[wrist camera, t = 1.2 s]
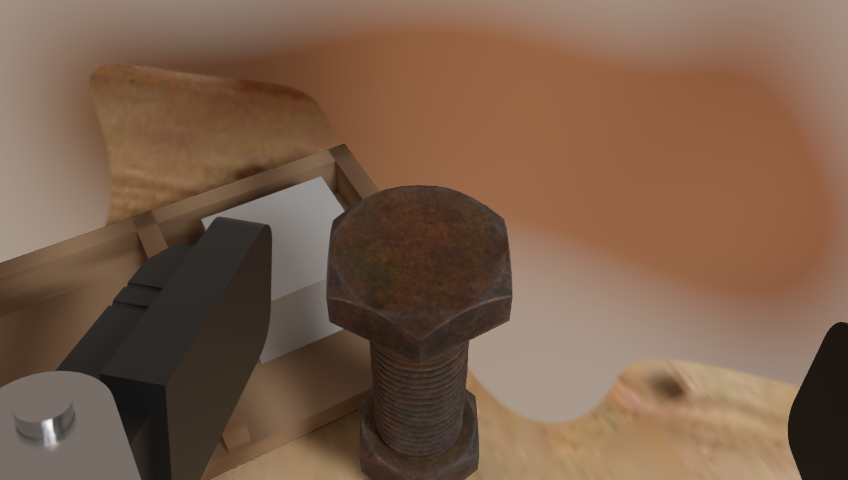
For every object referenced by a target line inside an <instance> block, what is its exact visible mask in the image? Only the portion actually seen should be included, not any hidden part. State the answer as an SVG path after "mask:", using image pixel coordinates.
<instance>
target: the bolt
mask: <svg viewBox="0 0 848 480" xmlns="http://www.w3.org/2000/svg"><path fill="white" fill-rule="evenodd" d="M326 301H327V308H328V316H329V322H331V323H333V324H335V325H337V326H339V327H341V328H343V329H345V330H347V331H349V332H351V333H354V334H356V335H358V336H360V337H362V338H364V339H366V340H368V341H369V345H370V356H371V371H372V382H373V389H372V390H371V391H370V392H368V393H367V394H366V395H364V396H363V398H362V408H361V427H360V462H361V471H363V472H364V473H365V474H367V475H368V476H369V477H371V478H372V479H373V480H465V479H466V478H467V477H468V476H470V475H471V474H472V473H474V472H475V471H476V470H477V469H478V460H479V437H478V420H477V407H476V399H475V395H473V394H472V393H471V392H469V391H468V390H467V389H465V388H466V377H467V367H468V366H467V363H468V346H469V340H471V339H473V338H475V337H477V336H479V335H481V334H483V333H485V332H487V331H489V330H491V329H493V328H495V327H497V326H499V325H501V324H503V323H505V322H507V321H509V318H510V311H511V303H512V272H511V260H510V250H509V243H508V236H507V228H506V225H505V221H504V219H503V218H502V217H501V216H499V215H498V214H496V213H495V212H494V211H492V210H491V209H489V208H488V207H487V206H485V205H484V204H482V203H480V202H479V201H477V200H475V199H474V198H472V197H470V196H468V195H465V194H463V193H461V192H458V191H455V190H452V189H449V188H444V187H438V186H421V185H416V186H400V187H395V188H390V189H386V190H383V191H380V192H377V193H375V194H373V195H371V196H368V197H366V198H364V199H362V200H361V201H359V202H357V203H356V204H354V205H353V206H351V207H350V208H348V209H347V210H346V211H344V212H343V213H342V214H340V215H339V216H338V217H336V218H335V219H334V220H333V223H332V227H331V232H330V241H329V249H328V259H327V277H326Z"/></svg>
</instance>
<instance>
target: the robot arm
mask: <svg viewBox="0 0 848 480" xmlns="http://www.w3.org/2000/svg"><path fill="white" fill-rule="evenodd" d="M271 276H272V231H271V227H270V226H269V225H268V224H262V223H256V222H250V221H244V220H238V219H232V218H226V217H220V216H219V217H216V218H215V219H214V220H213V222H212V223H211V224H210V226H209V227H208V228H207V230H206V231H205V232H204V234H203V235H202V236H201V238H200V239H199V240H198V242H197V243H196V244H195V246H194V247H193V246H187V245H181V244H174V245H172V246H170V247H169V248H167V249H165V250H163V251H161V252H160V253H158V254H156V255H154V256H152V257H151V258H149V259H147V260H146V261H145V262H144V263H143V264H142V265H141V267H140V268H139V269H138V270H137V272H136V273H135V274H134V275H133V276H132V278H131V279H130V280H129V281H128V285H127V287H123V289H122V290H121V291H120V292H119V293H118V295H117V296H116V297H115V298H114V300H113V303H112V306H110V305H109V306H108V307H107V308H106V309H105V310H104V312H103V313H102V314H101V315H100V317H99V318H98V319H97V320H96V321H95V323H94V324H93V325H92V326H91V328H90V329H89V330H88V331H87V332H86V334H85V335H84V336H83V337H82V338H81V340H80V341H79V342H78V343H77V345H76V346H75V347H74V348H73V349H72V351H71V352H70V353H69V354H68V356H67V357H66V358H65V359H64V360H63V362H62V363H61V364H60V365H59V366H58V368H57V369H56V370H55V371H51V372H43V373H38V374H33V375H30V376H26V377H23V378H20V379H18V380H15V381H13V382H11V383H9V384H7V385H5V386H3V387H1V388H0V480H200V479H201V477H202V475H203V473H204V471H205V469H206V467H207V465H208V463H209V461H210V458H211V456H212V454H213V452H214V450H215V448H216V446H217V444H218V442H219V440H220V438H221V436H222V434H223V432H224V430H225V428H226V425H227V423H228V421H229V419H230V417H231V415H232V413H233V411H234V409H235V407H236V405H237V403H238V401H239V399H240V397H241V395H242V392H243V390H244V388H245V386H246V384H247V382H248V380H249V378H250V376H251V374H252V372H253V370H254V368H255V366H256V364H257V362H258V359H259V357H260V355H261V353H262V351H263V348H264V345H265V342H266V338H267V334H268V329H269V323H270V315H271ZM788 440H789V445H790V449H791V452H792V454H793V457H794V460H795V462H796V465H797V467H798V470H799V473H800V475H801V478H802V480H848V323H844V322H839V323H836V324H835V325H833V326H832V327H831V328H830V329H829V331H828V332H827V334H826V336H825V338H824V340H823V342H822V344H821V346H820V348H819V350H818V352H817V354H816V357H815V359H814V360H813V363H812V365H811V367H810V369H809V371H808V373H807V375H806V377H805V379H804V381H803V383H802V385H801V387H800V390H799V392H798V394H797V396H796V398H795V400H794V402H793V404H792V407H791V410H790V415H789V421H788Z"/></svg>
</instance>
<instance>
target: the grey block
mask: <svg viewBox="0 0 848 480" xmlns="http://www.w3.org/2000/svg"><path fill="white" fill-rule="evenodd" d="M343 212H344V209H343V208H342V206H341V205H340V203H339V202H338V201H337V199H336V198H335V196H334V195H333V193H332V192H331V190H330V189H329V187H328V186H327V184H326V183H325V181H324V180H323V178H322V177H318V178H315V179H312V180H309V181H307V182H304V183H301V184H298V185H295V186H293V187H290V188H287V189H284V190H281V191H279V192H276V193H273V194H270V195H268V196H265V197H262V198H259V199H256V200H254V201H251V202H248V203H245V204H242V205H240V206H237V207H234V208H231V209H228V210H226V211H223V212H220V213H217V214H214V215H212V216H209V217H206V218H203V219H201V220H202V224H203V227H204V230H205V231H206V230H207V228H208V227H209V226H210V224H211V223H212V222H213V220H214V219H215V218H216V217H219V216H220V217H226V218H232V219H238V220H244V221H250V222H256V223H262V224H268V225H269V226H270V227H271V231H272V276H271V315H270V323H269V329H268V334H267V338H266V342H265V345H264V348H263V351H262V353H261V355H260V357H259V360H260V362H261V364H264V363H266V362H268V361H271V360H273V359H275V358H278V357H280V356H282V355H285V354H287V353H289V352H292V351H294V350H296V349H299V348H301V347H303V346H305V345H308V344H310V343H312V342H315V341H317V340H319V339H322V338H324V337H326V336H329V335H331V334H333V333H336V332H338V331H340V330H342V329H343V328H341V327H339V326H337V325H335V324H333V323H331V322H329V316H328V308H327V301H326V277H327V259H328V249H329V241H330V232H331V227H332V223H333V220H334V219H335V218H336V217H338V216H339V215H340V214H342V213H343Z"/></svg>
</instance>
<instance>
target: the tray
mask: <svg viewBox="0 0 848 480" xmlns="http://www.w3.org/2000/svg"><path fill="white" fill-rule="evenodd" d="M318 177H322V178H323V180H324V181H325V183H326V184H327V186H328V187H329V189H330V190H331V192H332V193H333V195H334V196H335V198H336V199H337V201H338V202H339V203H340V205H341V206H342V208H343V209H344V211H346V210H347V209H348V208H350V207H351V206H353V205H354V204H356V203H357V202H359V201H361V200H362V199H364V198H366V197H368V196H371V195H373V194H375V193H377V192H380V191H379V190H378V188H377V187H376V186H375V185H374V183H373V182H372V180H371V179H370V178H369V176H368V175H367V174H366V172H365V171H364V169H363V168H362V167H361V166H360V164H359V163H358V161H357V160H356V159H355V157H354V156H353V155H352V153H351V152H350V150H349V149H348V148H347V146H346V145H345V144H342V145H339V146H336V147H333V148H331V149H328V150H325V151H322V152H319V153H316V154H313V155H310V156H308V157H305V158H302V159H299V160H296V161H293V162H290V163H287V164H284V165H282V166H279V167H276V168H273V169H270V170H267V171H264V172H261V173H259V174H256V175H253V176H250V177H247V178H244V179H241V180H238V181H235V182H233V183H230V184H227V185H224V186H221V187H218V188H215V189H212V190H210V191H207V192H204V193H201V194H198V195H195V196H192V197H189V198H186V199H184V200H181V201H178V202H175V203H172V204H169V205H166V206H163V207H160V208H158V209H155V210H152V211H149V212H146V213H143V214H140V215H137V216H135V217H132V218H129V219H126V220H123V221H120V222H117V223H114V224H111V225H109V226H106V227H103V228H100V229H97V230H94V231H91V232H88V233H86V234H83V235H80V236H77V237H74V238H71V239H68V240H65V241H62V242H60V243H57V244H54V245H51V246H48V247H45V248H43V249H39V250H37V251H34V252H31V253H28V254H25V255H22V256H19V257H16V258H13V259H11V260H8V261H5V262H2V263H0V388H1V387H3V386H5V385H7V384H9V383H11V382H13V381H15V380H18V379H20V378H23V377H26V376H30V375H33V374H38V373H43V372H51V371H55V370H56V369H57V368H58V366H59V365H60V364H61V363H62V362H63V360H64V359H65V358H66V357H67V356H68V354H69V353H70V352H71V351H72V349H73V348H74V347H75V346H76V345H77V343H78V342H79V341H80V340H81V338H82V337H83V336H84V335H85V334H86V332H87V331H88V330H89V329H90V328H91V326H92V325H93V324H94V323H95V321H96V320H97V319H98V318H99V317H100V315H101V314H102V313H103V312H104V310H105V309H106V308H107V307H108V306H109V305H110V306H112V303H113V300H114V298H115V297H116V296H117V295H118V293H119V292H120V291H121V290H122V289H123V287H127V285H128V281H129V280H130V279H131V278H132V276H133V275H134V274H135V273H136V272H137V270H138V269H139V268H140V267H141V265H142V264H143V263H144V262H145V261H146V260H147V259H149V258H151V257H152V256H154V255H156V254H158V253H160V252H161V251H163V250H165V249H167V248H169V247H170V246H172V245H174V244H181V245H187V246H193V247H194V246H195V244H196V243H197V242H198V240H199V239H200V238H201V236H202V235H203V234H204V232H205V230H204V227H203V224H202V220H201V219H203V218H206V217H209V216H212V215H214V214H217V213H220V212H223V211H226V210H228V209H231V208H234V207H237V206H240V205H242V204H245V203H248V202H251V201H254V200H256V199H259V198H262V197H265V196H268V195H270V194H273V193H276V192H279V191H281V190H284V189H287V188H290V187H293V186H295V185H298V184H301V183H304V182H307V181H309V180H312V179H315V178H318ZM372 389H373V382H372V371H371V356H370V345H369V341H368V340H366V339H364V338H362V337H360V336H358V335H356V334H354V333H351V332H349V331H347V330H345V329H342V330H340V331H338V332H336V333H333V334H331V335H329V336H326V337H324V338H322V339H319V340H317V341H315V342H312V343H310V344H308V345H305V346H303V347H301V348H299V349H296V350H294V351H292V352H289V353H287V354H285V355H282V356H280V357H278V358H275V359H273V360H271V361H268V362H266V363H264V364H261V362H260V360H259V359H258V362H257V364H256V366H255V368H254V370H253V372H252V374H251V376H250V378H249V380H248V382H247V384H246V386H245V388H244V390H243V392H242V395H241V397H240V399H239V401H238V403H237V405H236V407H235V409H234V411H233V413H232V415H231V417H230V419H229V421H228V423H227V425H226V428H225V430H224V432H223V434H222V436H221V438H220V440H219V442H218V444H217V446H216V448H215V450H214V452H213V454H212V456H211V458H210V461H209V463H208V465H207V467H206V469H205V471H204V473H203V475H202V477H201V479H200V480H209V479H211V478H213V477H215V476H218V475H220V474H222V473H224V472H226V471H228V470H230V469H232V468H234V467H237V466H239V465H241V464H243V463H245V462H247V461H249V460H251V459H254V458H256V457H258V456H260V455H262V454H264V453H266V452H268V451H270V450H273V449H275V448H277V447H279V446H281V445H283V444H285V443H287V442H290V441H292V440H294V439H296V438H298V437H300V436H302V435H304V434H306V433H309V432H311V431H313V430H315V429H317V428H319V427H321V426H323V425H326V424H328V423H330V422H332V421H334V420H336V419H338V418H340V417H342V416H345V415H347V414H349V413H351V412H353V411H355V410H357V409H359V408H362V398H363V396H364V395H366V394H367V393H368V392H370V391H371V390H372Z"/></svg>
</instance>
